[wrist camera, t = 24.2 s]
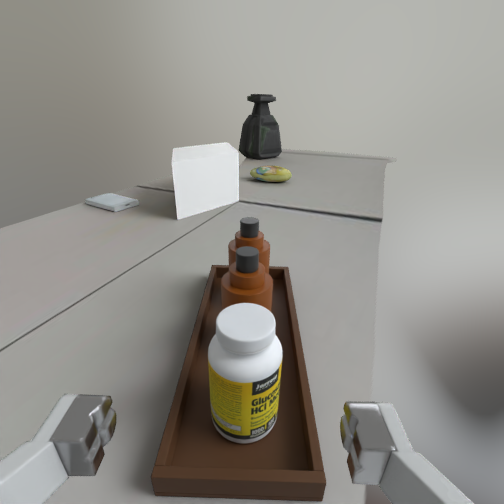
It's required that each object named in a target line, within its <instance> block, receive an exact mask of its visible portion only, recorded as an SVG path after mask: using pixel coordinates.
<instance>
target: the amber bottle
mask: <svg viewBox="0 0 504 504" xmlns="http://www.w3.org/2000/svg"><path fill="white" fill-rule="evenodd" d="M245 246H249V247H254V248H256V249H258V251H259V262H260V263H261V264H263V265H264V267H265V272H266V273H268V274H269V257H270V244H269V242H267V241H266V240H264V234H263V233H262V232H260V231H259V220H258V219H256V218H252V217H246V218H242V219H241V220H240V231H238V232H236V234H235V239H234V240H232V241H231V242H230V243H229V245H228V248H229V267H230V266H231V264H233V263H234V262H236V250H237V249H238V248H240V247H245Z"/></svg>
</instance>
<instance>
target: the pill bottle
mask: <svg viewBox="0 0 504 504" xmlns="http://www.w3.org/2000/svg"><path fill="white" fill-rule="evenodd" d="M275 327H276V322H275V318H274V316H273V314H272V313H271V312H270V311H269V310H268V309H266V308H265V307H263V306H260V305H257V304H253V303H239V304H234V305H231V306H229V307H227V308H225V309H223V310H222V311H221V312H220V313H219V315H218V316H217V319H216V334H215V335H214V337H213V338H212V340H211V342H210V344H209V348H208V367H209V384H210V403H211V416H212V420H213V423H214V426H215V427H216V429H217V430H218V432H219V433H220V434H221V435H222V436H223V437H225V438H226V439H228V440H230V441H233V442H236V443H241V444H247V443H252V442H255V441H258V440H260V439H262V438H263V437H265V436H266V435H267V434H268V433H269V432H270V431H271V429H272V428H273V426H274V424H275V422H276V418H277V412H278V401H279V390H280V378H281V367H282V357H283V355H282V346H281V343H280V341H279V339H278V337H277V336H276V335H275Z"/></svg>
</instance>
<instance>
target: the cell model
mask: <svg viewBox="0 0 504 504" xmlns="http://www.w3.org/2000/svg"><path fill="white" fill-rule="evenodd" d="M250 174H251V176H252V177H254V178H256V179H258V180H261V181H267V182H281V181H286V180H289V179H290V178H291V176H292V175H291V172H290V171H289V170H287V169H285V168H282V167H278V166H262V167H258V168H255V169H253V170H251V171H250Z"/></svg>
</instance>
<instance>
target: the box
mask: <svg viewBox="0 0 504 504" xmlns="http://www.w3.org/2000/svg"><path fill="white" fill-rule="evenodd" d="M172 169H173V180H174V190H175V200H176V210H177V220H179V219H183V218H186V217H189V216H192V215H195V214H199V213H202V212H205V211H208V210H212V209H215V208H218V207H221V206H225V205H228V204H231V203H234V202H237V201H239V152H238V151H237V150H236V149H235V148H233V147H232V146H231V145H230V144H228V142H225V143H216V144H208V145H199V146H189V147H181V148H173V155H172Z"/></svg>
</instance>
